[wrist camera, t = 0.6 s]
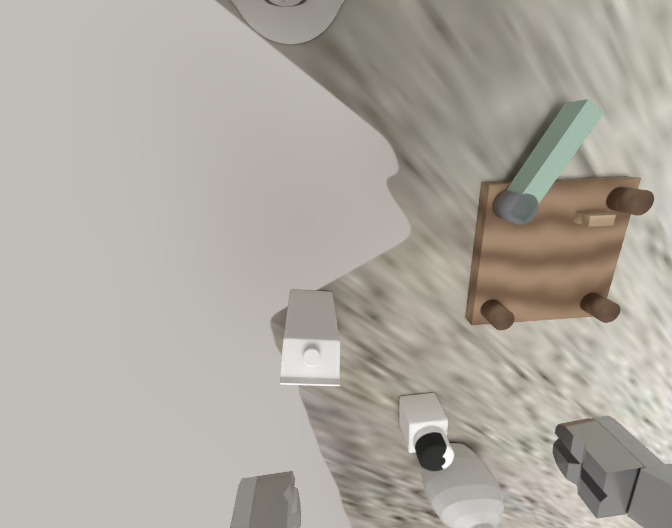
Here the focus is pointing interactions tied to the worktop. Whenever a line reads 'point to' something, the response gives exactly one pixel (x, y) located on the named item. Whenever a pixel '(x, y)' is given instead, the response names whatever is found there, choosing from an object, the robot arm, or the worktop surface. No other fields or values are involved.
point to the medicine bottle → (425, 430)
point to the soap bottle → (464, 491)
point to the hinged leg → (547, 161)
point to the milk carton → (311, 340)
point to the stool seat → (552, 253)
